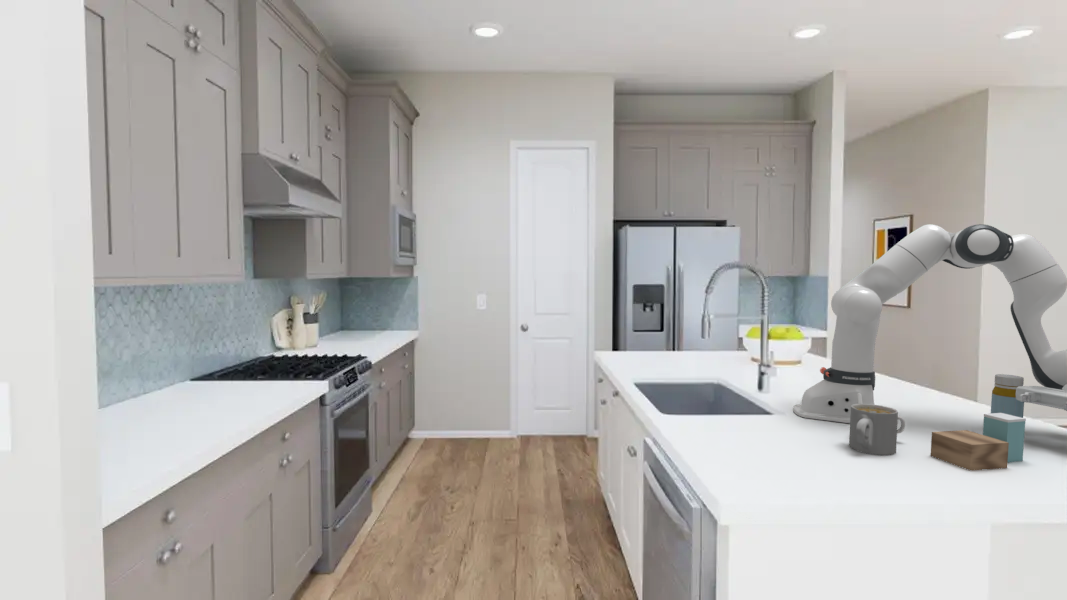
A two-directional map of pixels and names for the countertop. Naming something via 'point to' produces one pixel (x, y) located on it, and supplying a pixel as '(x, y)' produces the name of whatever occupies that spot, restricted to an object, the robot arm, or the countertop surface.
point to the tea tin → (1006, 432)
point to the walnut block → (969, 449)
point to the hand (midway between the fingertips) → (1044, 402)
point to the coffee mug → (873, 429)
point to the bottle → (1007, 395)
